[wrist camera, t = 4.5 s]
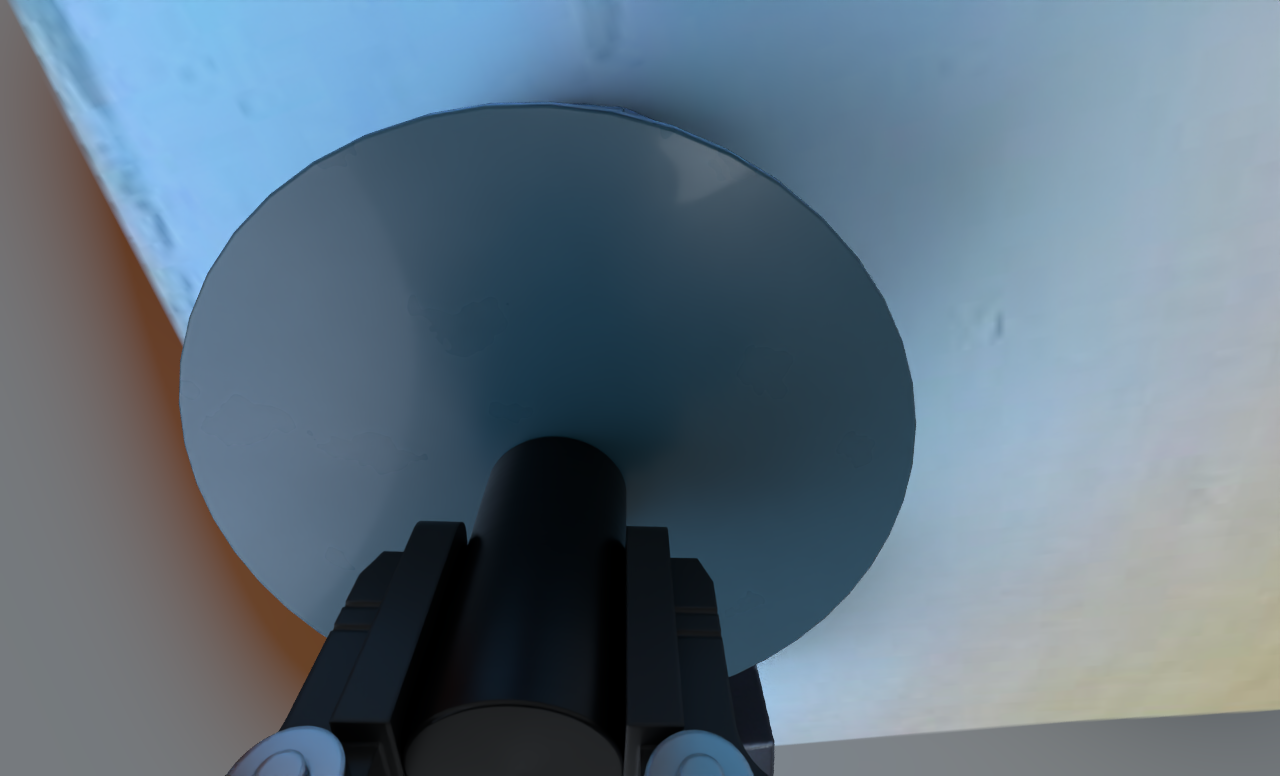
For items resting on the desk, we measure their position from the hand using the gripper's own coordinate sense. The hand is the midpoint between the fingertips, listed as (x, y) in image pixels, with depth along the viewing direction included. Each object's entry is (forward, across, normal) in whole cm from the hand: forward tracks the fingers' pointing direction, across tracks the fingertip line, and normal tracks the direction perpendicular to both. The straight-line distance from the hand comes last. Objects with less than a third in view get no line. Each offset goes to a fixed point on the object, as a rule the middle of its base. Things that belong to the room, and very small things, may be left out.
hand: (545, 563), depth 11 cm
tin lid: (+2, 0, 0) cm, 2 cm away
